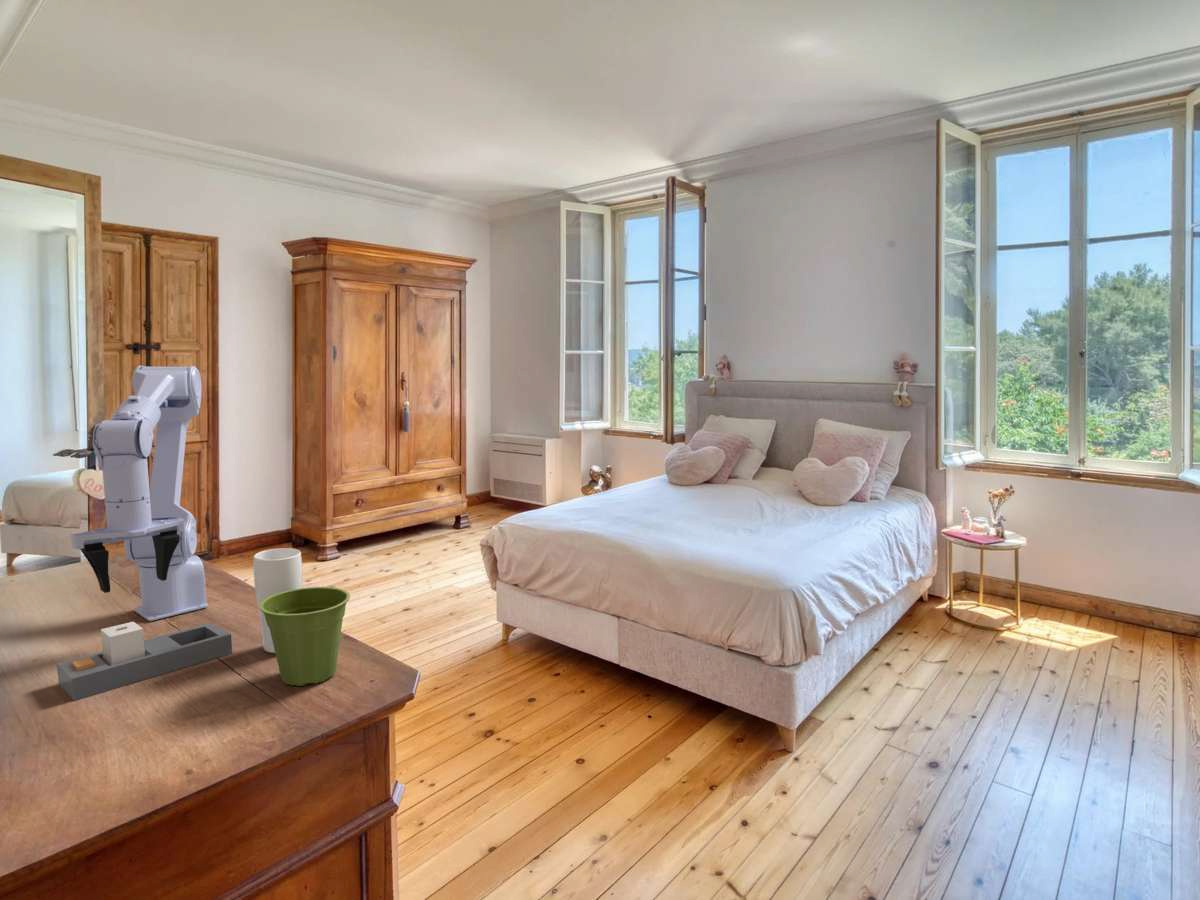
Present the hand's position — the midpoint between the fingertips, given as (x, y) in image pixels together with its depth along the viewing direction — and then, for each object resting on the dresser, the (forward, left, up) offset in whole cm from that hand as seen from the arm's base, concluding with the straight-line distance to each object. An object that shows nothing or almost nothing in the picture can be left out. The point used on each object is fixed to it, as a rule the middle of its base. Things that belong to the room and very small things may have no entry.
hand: (134, 584), depth 110 cm
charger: (+5, +11, -9) cm, 15 cm away
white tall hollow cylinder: (-14, +18, -10) cm, 25 cm away
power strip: (+2, +11, -9) cm, 15 cm away
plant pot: (-12, +30, -10) cm, 34 cm away
